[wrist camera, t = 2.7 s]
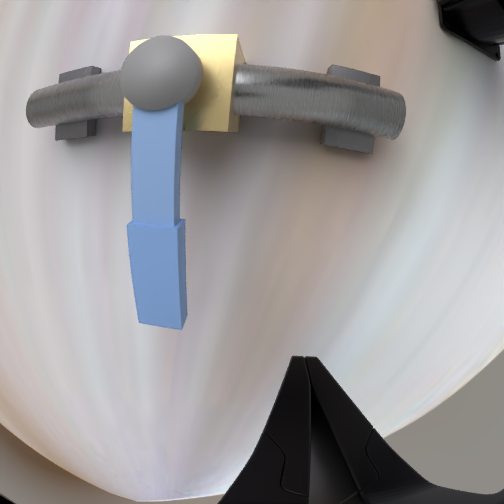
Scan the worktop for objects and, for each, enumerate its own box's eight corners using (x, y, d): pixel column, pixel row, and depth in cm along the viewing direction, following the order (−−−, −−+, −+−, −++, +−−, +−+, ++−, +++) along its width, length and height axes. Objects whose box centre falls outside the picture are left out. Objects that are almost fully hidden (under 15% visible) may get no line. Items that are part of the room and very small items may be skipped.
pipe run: (380, 81, 14) (430, 65, 8) (372, 153, 16) (420, 168, 10) (64, 76, 14) (6, 72, 8) (60, 139, 16) (2, 152, 10)
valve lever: (137, 47, 9) (124, 41, 7) (207, 42, 8) (200, 32, 7) (140, 307, 14) (131, 321, 13) (195, 315, 14) (189, 331, 13)
